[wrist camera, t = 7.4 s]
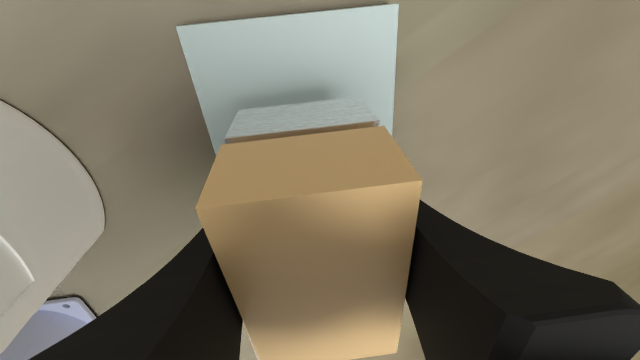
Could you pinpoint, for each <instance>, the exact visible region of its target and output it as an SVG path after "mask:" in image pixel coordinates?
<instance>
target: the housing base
mask: <svg viewBox="0 0 640 360" xmlns="http://www.w3.org/2000/svg"><path fill="white" fill-rule="evenodd" d="M376 126H380V120H379V119H378V118H377V116H376V115H375V114H374V113H373V111H372V110H371V109H370V108H369V107H368V105H367V104H366V103H365V102H364V101H363V99H362V98H361V97H360V96H359V97H350V98H341V99H332V100H323V101H315V102H306V103H297V104H288V105H279V106H271V107H262V108H253V109H244V110H238V112H237V114H236V116H235V118H234V120H233V122H232V124H231V126H230V128H229V130H228V132H227V134H226V136H225V138H224V139H225V143H226V144H232V143H240V142H249V141H257V140H266V139H274V138H283V137H291V136H300V135H308V134H317V133H325V132H334V131H342V130H351V129H359V128H368V127H376Z"/></svg>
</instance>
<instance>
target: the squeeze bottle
mask: <svg viewBox="0 0 640 360" xmlns="http://www.w3.org/2000/svg"><path fill="white" fill-rule="evenodd" d="M104 225H105V215H104V208H103V204H102V200H101V197H100V195H99V192H98V190H97V188H96V186H95V184H94V182H93V180H92V179H91V177H90V175H89V174H88V172H87V171H86V170H85V168H84V167H83V166H82V164H81V163H80V162H79V161H78V159H77V158H76V157H75V156H74V155H73V154H72V153H71V152H70V151H69V150H68V149H67V148H66V147H65V146H64V145H63V144H62V143H61V142H60V141H59V140H58V139H57V138H56V137H55V136H53V135H52V134H51V133H50V132H48V131H47V130H46V129H45V128H43V127H42V126H41V125H39V124H38V123H37V122H35V121H34V120H32V119H31V118H29V117H28V116H26V115H25V114H23V113H22V112H20V111H18V110H17V109H15V108H13V107H12V106H10V105H8V104H6V103H4V102H3V101H1V100H0V354H1V353H2V352H3V351H4V350H5V349H6V348H7V346H8V345H9V344H10V343H11V341H12V340H13V339H14V338H15V337H16V335H17V334H18V333H19V332H20V330H21V329H22V328H23V327H24V325H25V324H26V323H27V322H28V320H29V319H30V318H31V317H32V315H33V314H35V313H36V312H37V311H38V310H39V308H40V307H41V306H42V305H43V303H44V302H45V301H46V300H47V298H48V297H49V296H50V295H51V293H52V292H53V291H54V290H55V288H56V287H57V286H58V285H59V283H60V282H61V281H63V280H64V279H65V277H66V276H67V275H68V274H69V272H70V271H71V270H72V269H73V267H74V266H75V265H76V264H77V262H78V261H79V260H80V259H81V258H82V256H83V255H84V254H85V253H86V251H88V250H89V249H90V248H91V246H92V245H93V244H94V243H95V241H96V240H97V239H98V238H99V237H100V235H101V234H102V233H103V232H104Z"/></svg>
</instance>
